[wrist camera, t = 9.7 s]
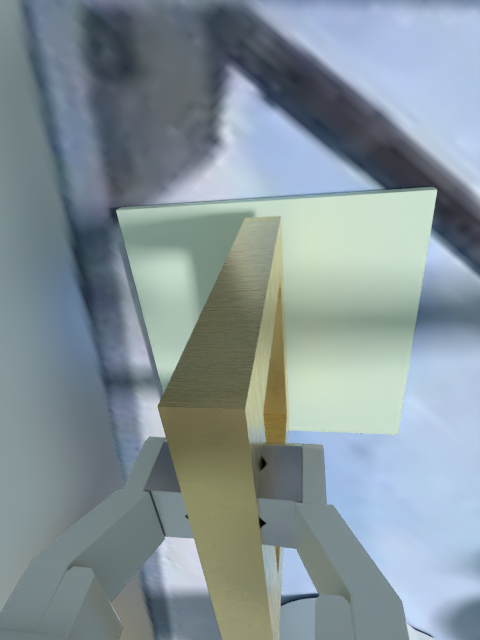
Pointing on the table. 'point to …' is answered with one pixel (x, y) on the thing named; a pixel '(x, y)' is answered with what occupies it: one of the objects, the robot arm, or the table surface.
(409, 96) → the table surface
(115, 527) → the robot arm
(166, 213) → the sage mat
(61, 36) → the table surface
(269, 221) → the yellow picture frame
